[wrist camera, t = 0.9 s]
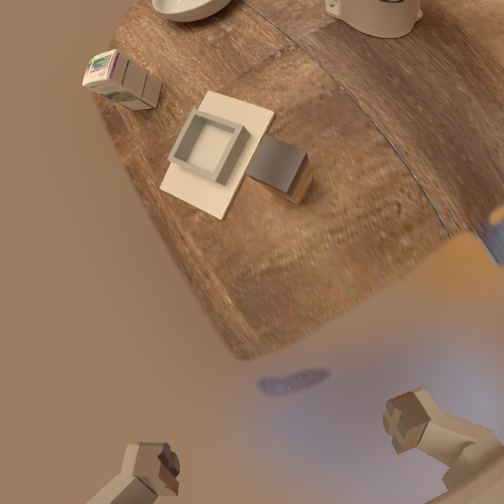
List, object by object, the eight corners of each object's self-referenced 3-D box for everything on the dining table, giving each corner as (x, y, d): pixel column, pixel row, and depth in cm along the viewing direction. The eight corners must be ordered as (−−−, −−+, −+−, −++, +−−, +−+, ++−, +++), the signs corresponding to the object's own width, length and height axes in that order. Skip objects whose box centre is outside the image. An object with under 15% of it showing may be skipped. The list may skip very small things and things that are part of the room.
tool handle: (271, 192, 42) (245, 173, 28) (284, 165, 41) (265, 134, 27) (299, 206, 41) (286, 192, 27) (313, 178, 40) (306, 151, 27)
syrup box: (163, 82, 45) (116, 45, 31) (156, 110, 46) (105, 78, 32) (138, 86, 47) (91, 54, 32) (132, 113, 47) (80, 86, 33)
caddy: (162, 189, 46) (145, 185, 41) (210, 93, 43) (198, 80, 38) (223, 220, 44) (210, 218, 39) (275, 114, 41) (269, 101, 36)
